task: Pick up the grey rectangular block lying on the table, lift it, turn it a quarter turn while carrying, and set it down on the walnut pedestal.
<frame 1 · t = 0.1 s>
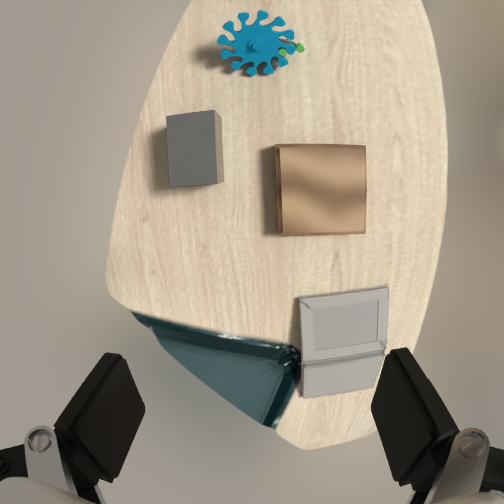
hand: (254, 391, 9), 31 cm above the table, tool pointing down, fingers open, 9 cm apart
grey folded flat piece: (341, 345, 45), on the table
grey rectangular block: (201, 150, 36), on the table
stand: (320, 188, 37), on the table
gear: (261, 54, 31), on the table
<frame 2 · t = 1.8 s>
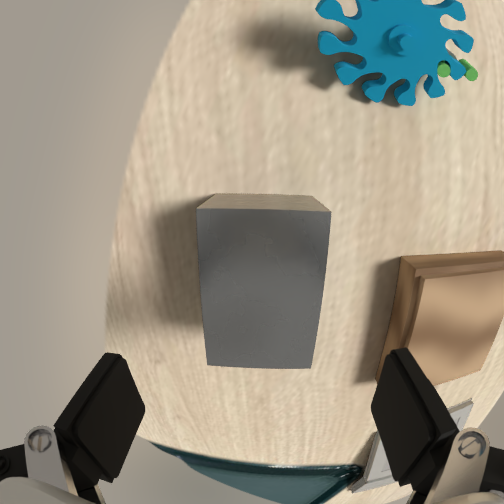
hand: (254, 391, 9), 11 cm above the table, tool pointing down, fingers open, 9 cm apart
grey folded flat piece: (404, 451, 29), on the table
grey rectangular block: (262, 261, 19), on the table
stand: (445, 317, 19), on the table
gear: (384, 58, 14), on the table
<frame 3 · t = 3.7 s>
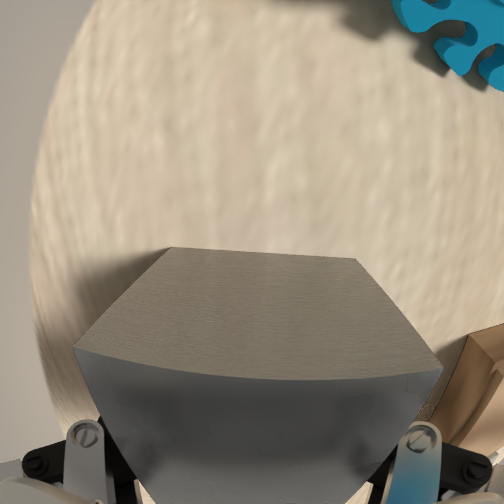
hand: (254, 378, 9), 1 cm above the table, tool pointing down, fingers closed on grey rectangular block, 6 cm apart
grey rectangular block: (255, 364, 10), on the table, touching gripper
stand: (495, 389, 11), on the table
gear: (453, 16, 5), on the table
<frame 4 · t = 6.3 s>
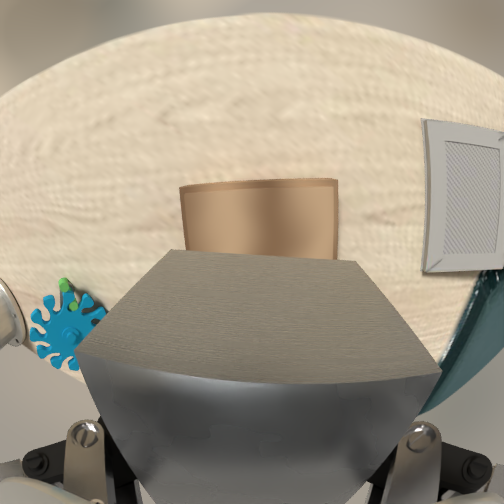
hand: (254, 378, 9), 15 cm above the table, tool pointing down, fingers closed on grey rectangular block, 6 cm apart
grey folded flat piece: (492, 197, 22), on the table
grey rectangular block: (255, 365, 10), point 15 cm above the table, touching gripper
stand: (262, 250, 24), on the table
gear: (86, 311, 28), on the table
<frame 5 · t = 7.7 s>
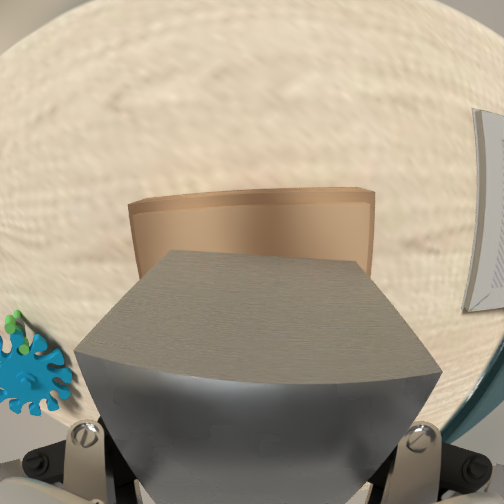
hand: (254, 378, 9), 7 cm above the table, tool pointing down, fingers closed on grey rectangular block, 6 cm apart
grey rectangular block: (255, 365, 10), point 7 cm above the table, touching gripper
stand: (256, 292, 16), on the table
gear: (45, 350, 20), on the table
when the fingers open (5 cm above the table, at t = 9.1 s): grey rectangular block drops 1 cm, resting on stand.
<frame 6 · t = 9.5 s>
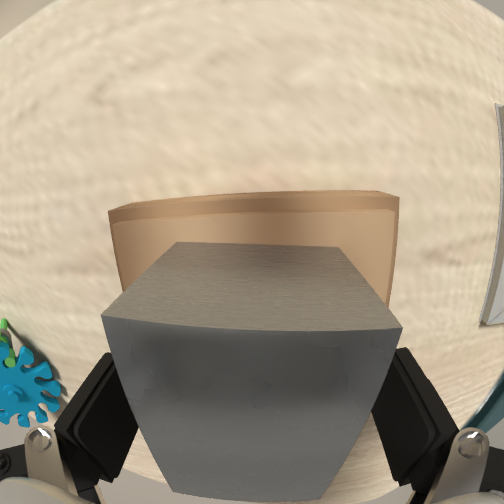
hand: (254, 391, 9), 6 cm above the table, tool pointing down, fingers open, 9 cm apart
grey rectangular block: (254, 346, 11), point 3 cm above the table, touching stand
stand: (258, 310, 14), on the table
gear: (33, 360, 18), on the table
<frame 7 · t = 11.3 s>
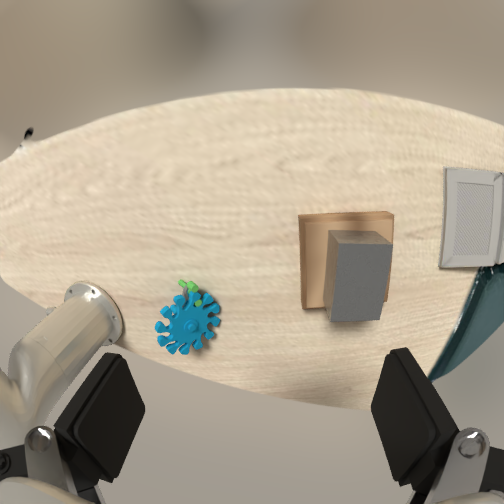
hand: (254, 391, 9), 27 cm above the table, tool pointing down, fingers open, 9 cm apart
grey folded flat piece: (488, 215, 32), on the table
grey rectangular block: (349, 266, 33), point 3 cm above the table, touching stand
stand: (344, 257, 35), on the table
gear: (196, 306, 40), on the table
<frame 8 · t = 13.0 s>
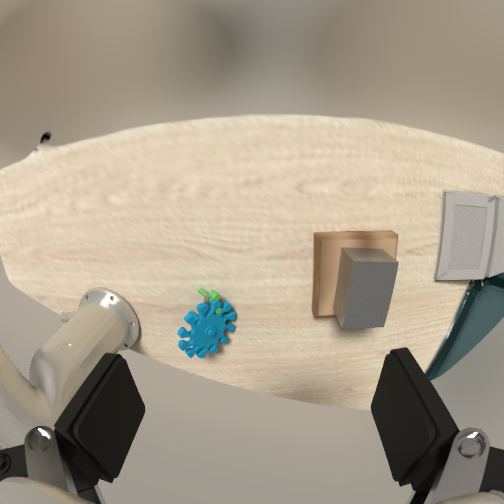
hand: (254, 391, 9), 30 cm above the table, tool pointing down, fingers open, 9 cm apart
grey folded flat piece: (480, 233, 37), on the table
grey rectangular block: (357, 279, 36), point 3 cm above the table, touching stand
stand: (352, 270, 39), on the table
gear: (213, 313, 43), on the table
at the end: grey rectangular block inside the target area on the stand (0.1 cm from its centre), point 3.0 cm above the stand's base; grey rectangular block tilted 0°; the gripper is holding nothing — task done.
